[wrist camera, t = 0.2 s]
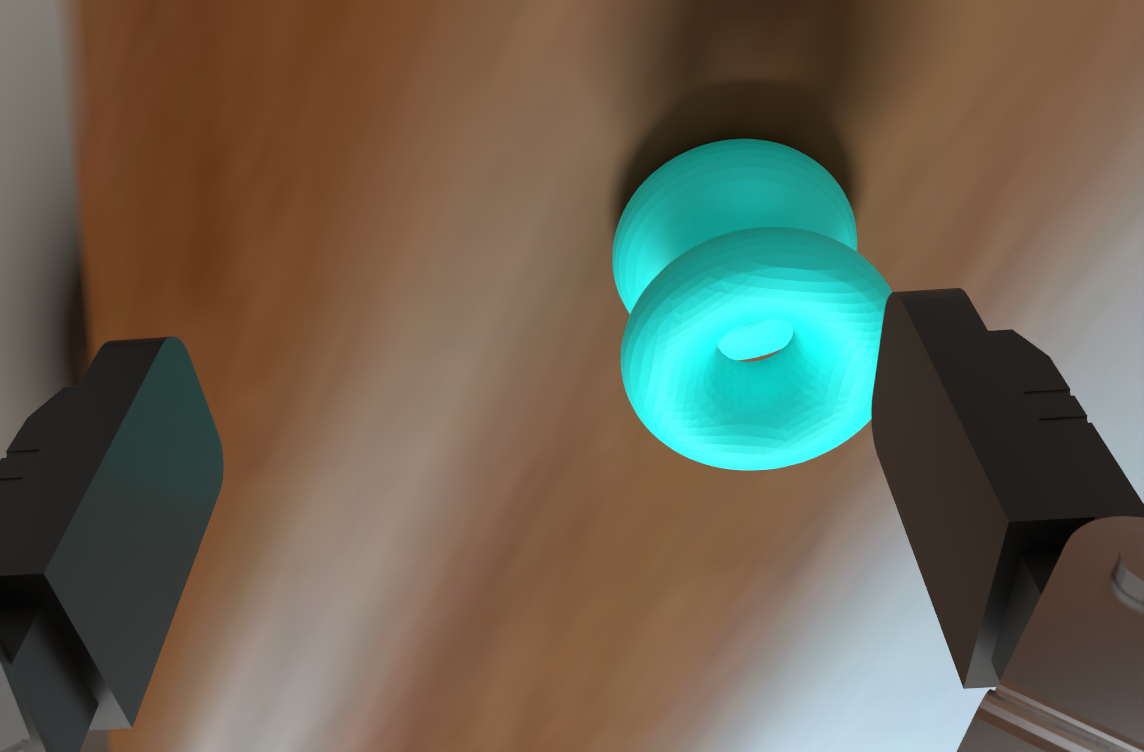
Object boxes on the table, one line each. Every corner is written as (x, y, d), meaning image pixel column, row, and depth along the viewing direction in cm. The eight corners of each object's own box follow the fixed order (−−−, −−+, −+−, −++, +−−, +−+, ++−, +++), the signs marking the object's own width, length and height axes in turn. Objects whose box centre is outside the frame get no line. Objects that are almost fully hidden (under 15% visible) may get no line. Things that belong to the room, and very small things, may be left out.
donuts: (954, 270, 33) (867, 495, 39) (876, 138, 41) (815, 342, 47) (645, 243, 32) (606, 477, 38) (628, 115, 40) (597, 325, 46)
